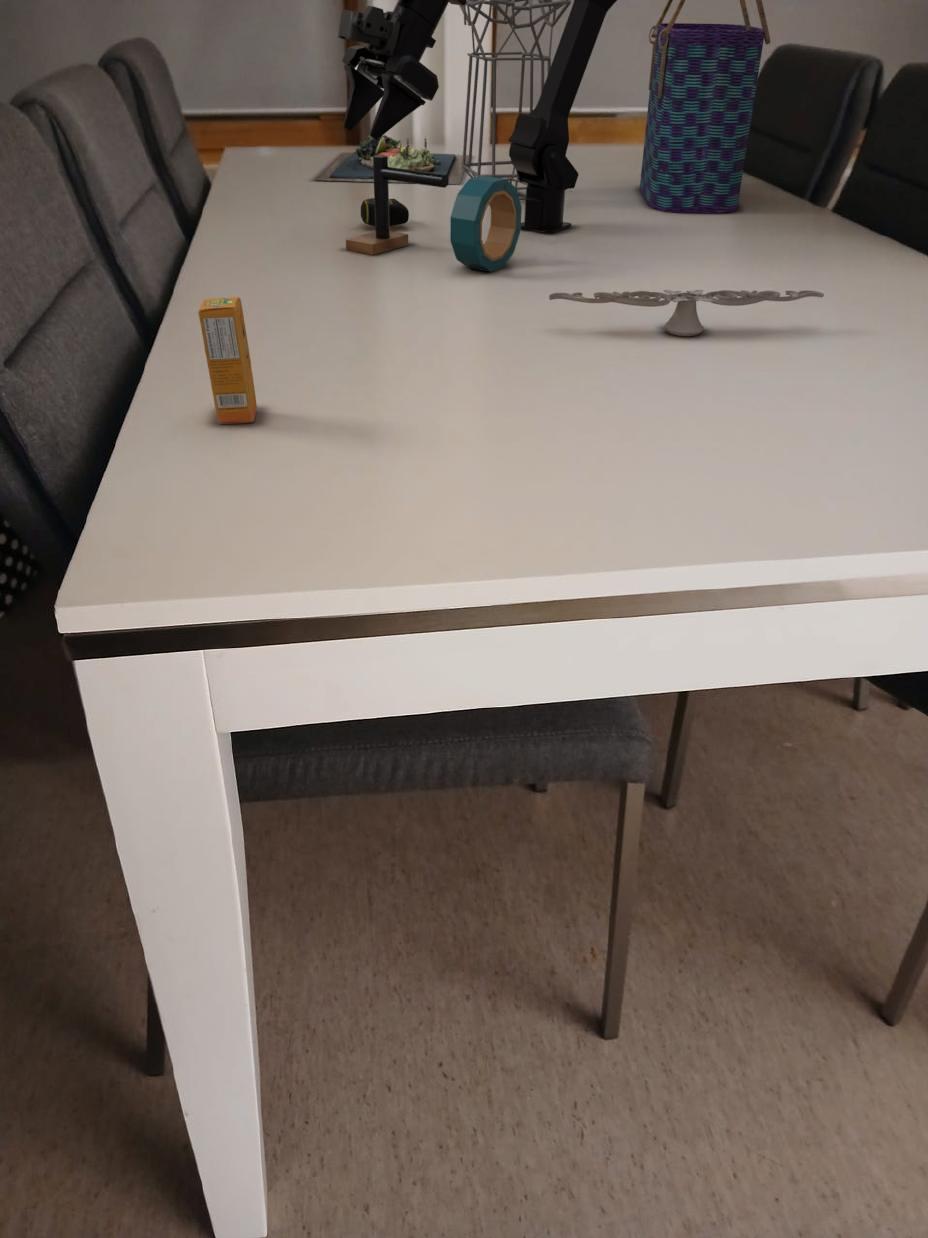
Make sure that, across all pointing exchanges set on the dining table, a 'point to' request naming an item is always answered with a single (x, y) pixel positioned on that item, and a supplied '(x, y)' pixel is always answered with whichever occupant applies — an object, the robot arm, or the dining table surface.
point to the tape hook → (382, 193)
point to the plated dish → (392, 162)
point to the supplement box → (228, 359)
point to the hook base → (376, 243)
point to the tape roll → (470, 220)
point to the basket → (700, 112)
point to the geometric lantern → (507, 0)
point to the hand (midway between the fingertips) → (359, 133)
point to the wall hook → (686, 303)
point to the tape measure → (396, 212)
